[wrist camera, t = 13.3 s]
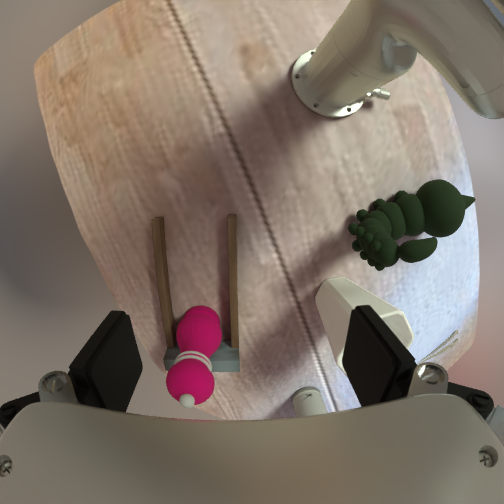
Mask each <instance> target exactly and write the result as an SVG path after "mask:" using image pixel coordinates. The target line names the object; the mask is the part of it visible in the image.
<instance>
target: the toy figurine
mask: <svg viewBox="0 0 504 504" xmlns="http://www.w3.org/2000/svg"><path fill="white" fill-rule="evenodd" d="M395 201H396V202H395V203H393V202H385V201H384V200H383V199H377V200H376V201H375V202H374V207H375V209H376V210H375V211H371V212H370V213H368V212H367V211H366V210H364V209H363V210H359V211H358V212H357V214H356V217H357V220H358V221H360V222H361V223H360V224H359V225H358V224H357V223H351V224H350V225H349V227H348V230H349V232H350V234H352V235H356V238H357V240H355V241H354V242H353V243H352V248H353V249H354V251H357V252H359V251H361V250H362V251H361V252H360V257H361V258H362V259H363V260H367V259H368V260H367V261H368V264H369V265H370V266H375V268H376V269H377V270H378V271H381V270H383V269H384V268H385V267H390V266H393V265H394V264H395V263H396V262H397V261H398V259H399V258H401V259H402V260H403V261H405V262H408V263H414V262H418V261H421V260H424V259H426V258H427V257H429V256H430V255H431V254H432V253H433V252H434V251H435V249H436V247H437V239H436V238H435V237H446V236H449V235H451V234H453V233H454V232H456V231H457V229H458V228H459V227H460V226H461V224H462V222H463V219H464V215H465V210H466V209H467V208H468V207H469V206H470V205H471V204H472V203H473V202H474V201H475V198H474V197H470V196H465V195H461V194H460V192H459V191H458V189H457V188H455V187H454V186H453V185H452V184H450V183H449V182H447V181H445V180H432V181H429V182H427V183H425V184H424V185H422V186H421V187H420V188H419V190H418V191H417V193H416V195H414V194H407V193H406V192H405V191H398V192H397V193H396V195H395ZM422 232H426V233H427V234H429V235H431V236H434V237H432V238H426V239H420V240H410V241H407V242H404V243H403V244H401V246H398V244H397V243H396V242H395V241H394V240H397V239H399V238H401V237H402V236H403V235H407V236H416V235H419V234H421V233H422Z"/></svg>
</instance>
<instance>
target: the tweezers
mask: <svg viewBox="0 0 504 504" xmlns="http://www.w3.org/2000/svg"><path fill="white" fill-rule="evenodd" d="M455 334H458V330H456V331H455V332H454V333H453V334H452V335H451V336H450V337H449V338H448V339H447V340H445V341H444V342H443V343H442V344H441V345H440V346H438V347H437V348H436V349H435V350H434V351H432V352H431V353H430V354H429V355H427V356H426V357H425V358H427V357H428V356H430V355H431V354H433V353H434V352H436V351H437V350H438V349H439V348H441V347H442V346H443V345H445V344H446V343H447V342H449V341H450V340H451V339H452V338H453V337H454V336H455ZM457 341H458V339H456V340H455V341H454V342H453V343H452V344H450V345H448V346H447V347H445V348H443V349H442V350H440V351H439V352H437V353H436V354H434V355H432V356H430V357H429V358H427V359H425V358H423V359H422V360H423V361H422V360H421V361H422V362H424V361H426V360H428V359H431V358H433V357H435V356H437V355H439V354H441V353H443V352H445V351H447V350H448V349H450V348H451V347H453V346H454V345H456V343H457ZM450 346H451V347H450ZM424 359H425V360H424ZM419 362H420V361H419ZM422 362H420V363H422ZM420 363H419V364H420ZM417 365H418V364H417Z"/></svg>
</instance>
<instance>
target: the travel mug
mask: <svg viewBox="0 0 504 504" xmlns="http://www.w3.org/2000/svg"><path fill="white" fill-rule="evenodd" d="M292 402H293V406H294V410H295V414H296V417H301V416H309V415H317V414H324V413H328V412H327V409H326V406H325V404H324V401H323V399H322V396H321V393H320V391H319V390H318V389H317V388H315V387H304V388H302V389H300V390H298V391H296V392H295V393H294V395H293V397H292Z"/></svg>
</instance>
